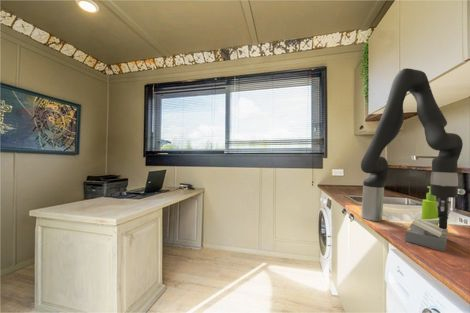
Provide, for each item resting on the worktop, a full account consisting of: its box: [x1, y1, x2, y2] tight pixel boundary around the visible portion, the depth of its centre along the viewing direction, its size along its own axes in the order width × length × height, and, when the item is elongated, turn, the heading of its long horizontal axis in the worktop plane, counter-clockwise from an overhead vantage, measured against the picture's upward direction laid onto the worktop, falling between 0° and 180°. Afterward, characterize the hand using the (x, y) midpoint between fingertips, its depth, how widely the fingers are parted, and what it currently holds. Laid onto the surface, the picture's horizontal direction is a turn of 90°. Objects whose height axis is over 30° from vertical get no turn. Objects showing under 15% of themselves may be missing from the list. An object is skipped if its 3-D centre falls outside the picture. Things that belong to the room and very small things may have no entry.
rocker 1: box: [424, 219, 439, 224], centre depth 88 cm, size 3×8×1 cm, turn 42°
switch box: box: [404, 223, 449, 252], centre depth 84 cm, size 18×11×5 cm, turn 132°
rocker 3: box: [411, 219, 442, 237], centre depth 79 cm, size 3×8×1 cm, turn 42°
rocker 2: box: [414, 217, 443, 232], centre depth 83 cm, size 3×8×1 cm, turn 42°
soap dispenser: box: [420, 185, 439, 226], centre depth 98 cm, size 6×7×20 cm
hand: (443, 228), depth 80 cm, fingers closed
